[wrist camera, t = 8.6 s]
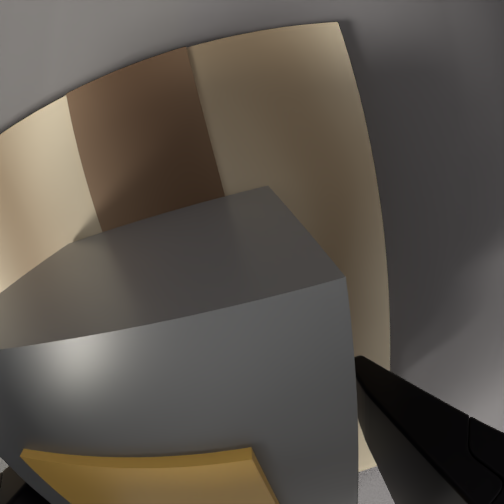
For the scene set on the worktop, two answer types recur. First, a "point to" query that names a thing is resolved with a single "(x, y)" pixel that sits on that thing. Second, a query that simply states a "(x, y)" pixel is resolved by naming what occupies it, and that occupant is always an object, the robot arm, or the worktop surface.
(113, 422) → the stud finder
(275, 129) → the board
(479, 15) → the worktop surface
